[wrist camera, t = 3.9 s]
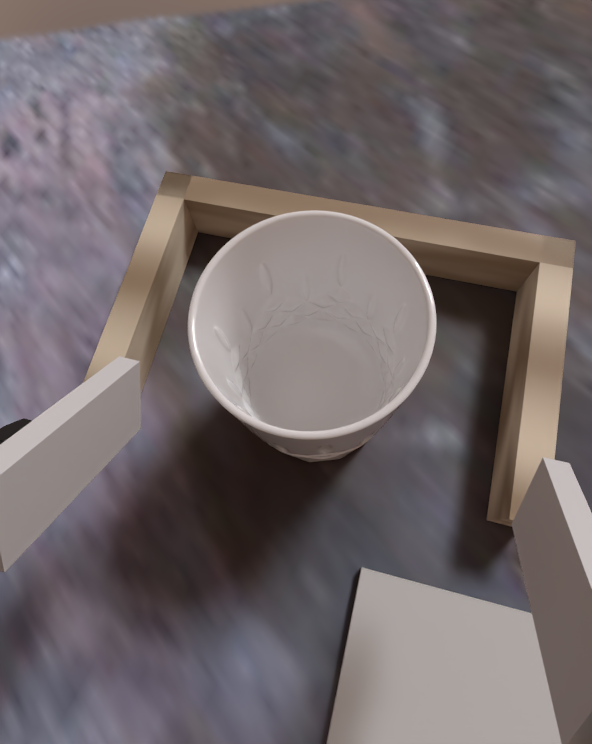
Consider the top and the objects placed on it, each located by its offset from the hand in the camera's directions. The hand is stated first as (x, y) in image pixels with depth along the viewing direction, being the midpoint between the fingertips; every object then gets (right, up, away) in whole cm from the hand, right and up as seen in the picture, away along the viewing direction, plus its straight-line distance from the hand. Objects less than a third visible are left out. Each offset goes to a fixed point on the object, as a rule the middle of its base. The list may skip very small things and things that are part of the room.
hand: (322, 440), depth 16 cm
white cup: (0, +1, +9) cm, 9 cm away
